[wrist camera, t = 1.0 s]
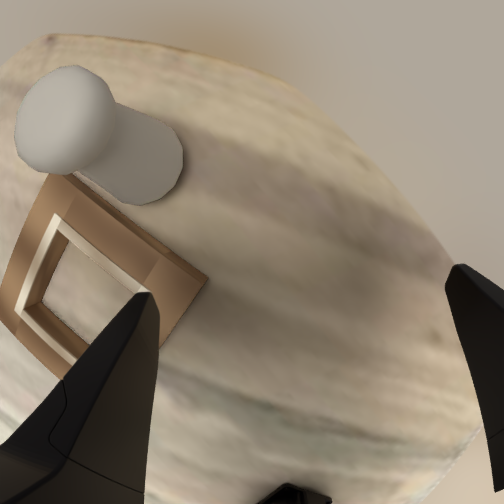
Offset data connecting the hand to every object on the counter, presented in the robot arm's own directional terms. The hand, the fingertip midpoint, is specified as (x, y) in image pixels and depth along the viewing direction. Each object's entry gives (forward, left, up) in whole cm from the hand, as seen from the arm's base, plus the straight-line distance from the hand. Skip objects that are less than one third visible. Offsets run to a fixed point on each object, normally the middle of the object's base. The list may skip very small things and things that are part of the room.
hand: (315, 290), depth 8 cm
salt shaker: (0, +11, -13) cm, 17 cm away
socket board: (-11, +10, -13) cm, 20 cm away
